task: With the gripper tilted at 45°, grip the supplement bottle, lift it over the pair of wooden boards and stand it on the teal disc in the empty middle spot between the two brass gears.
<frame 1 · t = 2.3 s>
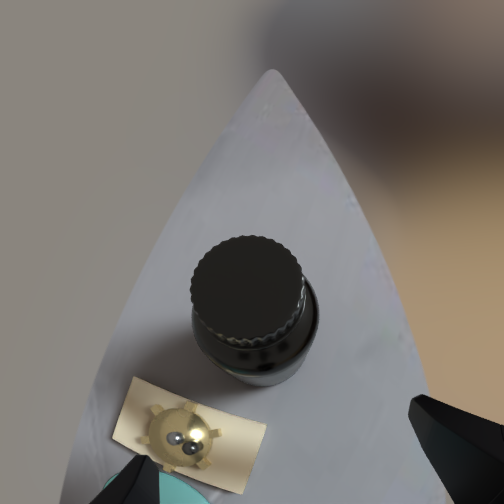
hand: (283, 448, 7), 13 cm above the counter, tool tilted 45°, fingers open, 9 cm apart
supplement bottle: (263, 346, 22), on the counter
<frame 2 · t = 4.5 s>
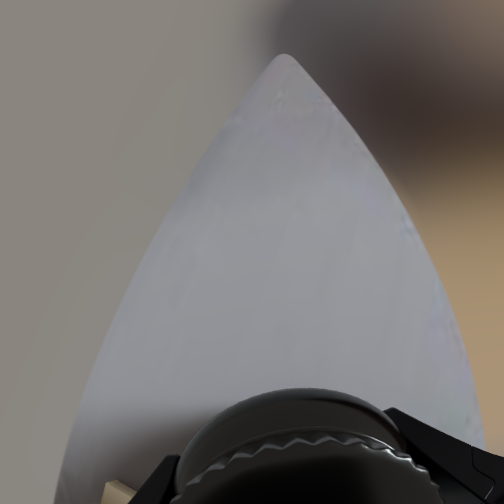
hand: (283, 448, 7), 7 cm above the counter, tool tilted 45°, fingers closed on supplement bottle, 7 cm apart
supplement bottle: (288, 454, 12), on the counter, touching gripper
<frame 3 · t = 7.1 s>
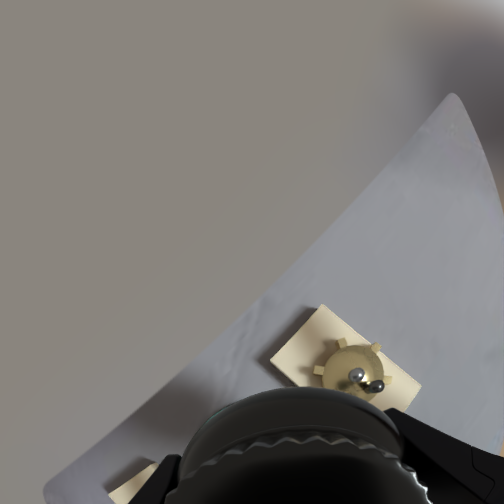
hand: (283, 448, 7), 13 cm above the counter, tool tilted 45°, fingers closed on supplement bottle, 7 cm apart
supplement bottle: (294, 450, 13), point 6 cm above the counter, touching gripper
pair of wooden boards: (261, 464, 17), on the counter
brass gears: (260, 472, 15), on the pair of wooden boards, point 3 cm above the counter
when the fingers open (8 cm above the counter, at t = 9.9 s): supplement bottle stays where it is, resting on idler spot.
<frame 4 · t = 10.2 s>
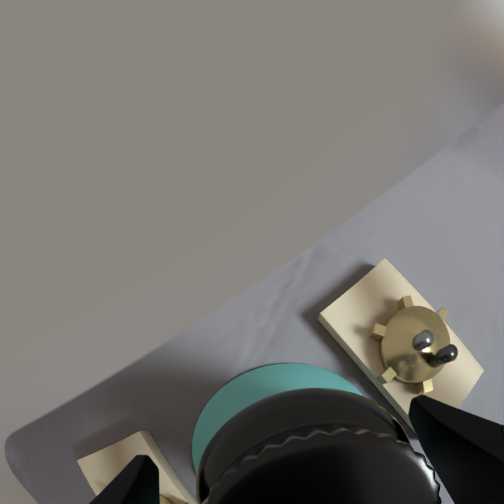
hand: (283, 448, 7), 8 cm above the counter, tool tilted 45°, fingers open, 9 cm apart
supplement bottle: (295, 450, 13), resting on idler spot
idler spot: (286, 451, 13), on the counter
pair of wooden boards: (286, 451, 13), on the counter
brass gears: (287, 459, 11), on the pair of wooden boards, point 3 cm above the counter
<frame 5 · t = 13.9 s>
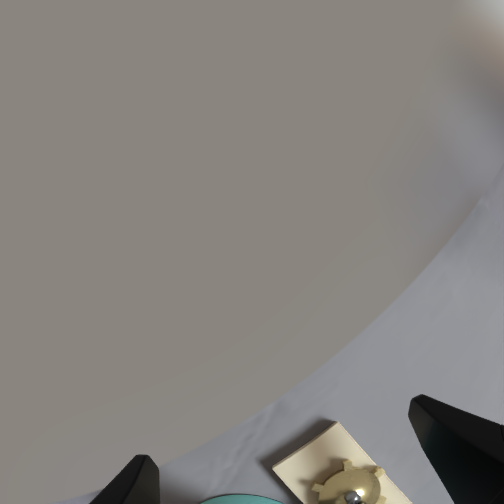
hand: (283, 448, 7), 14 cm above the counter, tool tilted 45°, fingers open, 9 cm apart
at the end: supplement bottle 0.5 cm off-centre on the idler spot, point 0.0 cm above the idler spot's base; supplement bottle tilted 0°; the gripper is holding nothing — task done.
